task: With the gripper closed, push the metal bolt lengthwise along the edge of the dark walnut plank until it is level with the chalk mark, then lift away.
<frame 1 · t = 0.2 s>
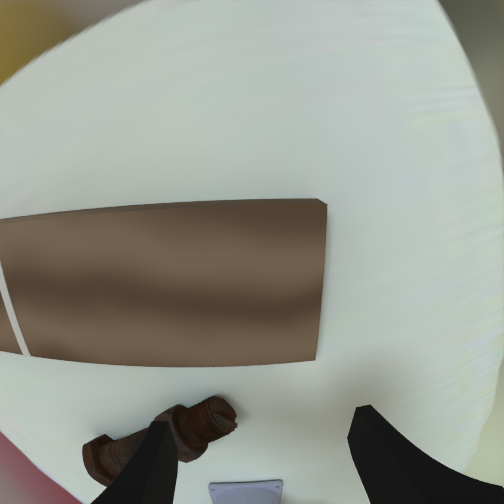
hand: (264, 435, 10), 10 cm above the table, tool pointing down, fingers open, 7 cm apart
plank: (84, 284, 19), on the table
bolt: (160, 424, 24), on the table
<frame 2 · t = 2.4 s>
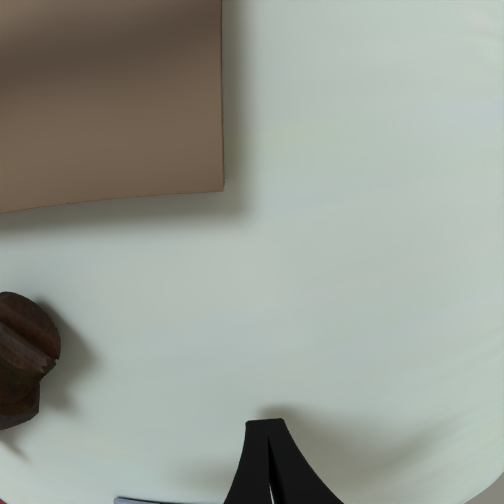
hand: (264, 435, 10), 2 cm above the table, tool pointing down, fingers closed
bolt: (1, 372, 11), on the table
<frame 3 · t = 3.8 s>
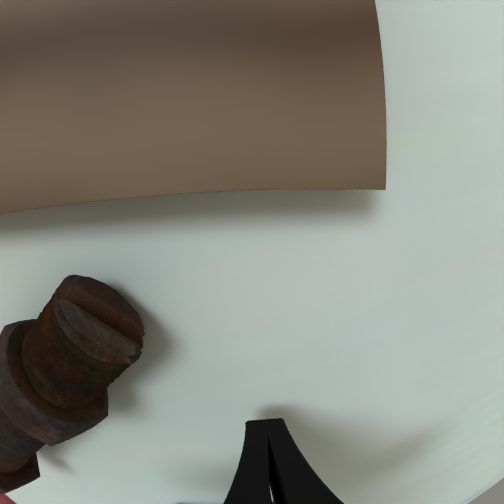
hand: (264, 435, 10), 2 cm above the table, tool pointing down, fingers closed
bolt: (49, 378, 12), on the table
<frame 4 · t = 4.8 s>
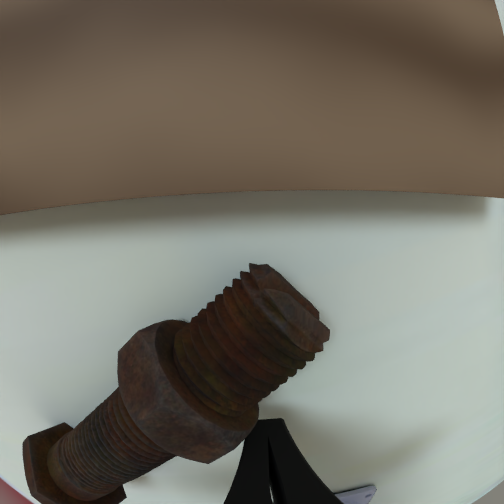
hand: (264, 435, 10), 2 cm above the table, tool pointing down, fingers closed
plank: (66, 54, 7), on the table
bolt: (153, 386, 12), on the table, touching gripper
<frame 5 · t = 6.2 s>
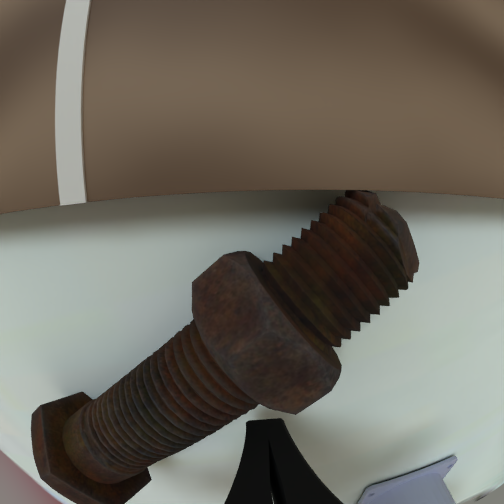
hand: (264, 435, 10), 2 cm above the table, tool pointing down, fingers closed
plank: (290, 28, 8), on the table
bolt: (201, 343, 11), on the table, touching gripper
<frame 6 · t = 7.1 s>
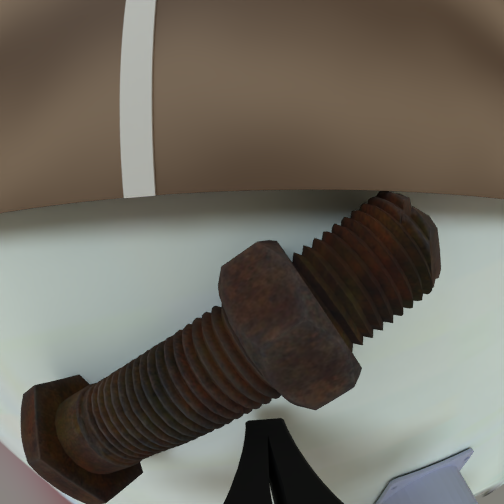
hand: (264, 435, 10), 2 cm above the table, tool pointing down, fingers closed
plank: (348, 34, 8), on the table
bolt: (211, 334, 11), on the table
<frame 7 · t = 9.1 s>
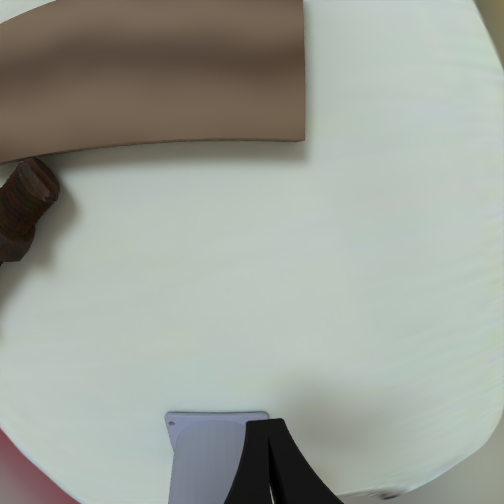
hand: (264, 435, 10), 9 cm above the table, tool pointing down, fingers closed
plank: (50, 79, 14), on the table
bolt: (4, 243, 17), on the table
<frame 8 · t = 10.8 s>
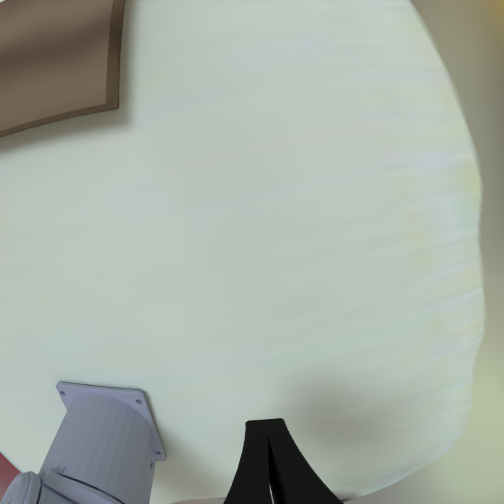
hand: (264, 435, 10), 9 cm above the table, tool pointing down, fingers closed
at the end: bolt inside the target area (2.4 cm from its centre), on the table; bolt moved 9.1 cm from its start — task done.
